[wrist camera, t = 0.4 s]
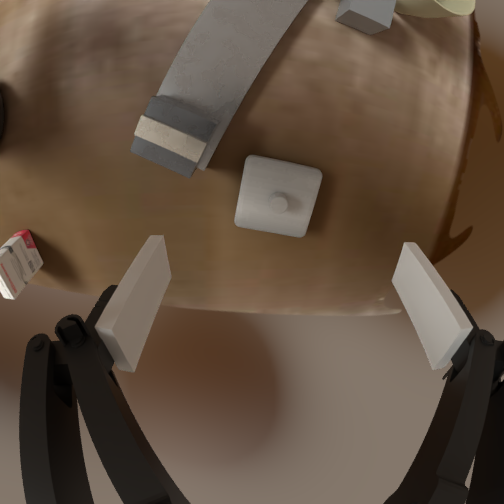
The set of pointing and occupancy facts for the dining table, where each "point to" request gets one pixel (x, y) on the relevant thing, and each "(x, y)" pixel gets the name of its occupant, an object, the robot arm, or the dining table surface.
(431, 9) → the mug
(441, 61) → the dining table surface
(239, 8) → the rail
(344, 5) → the block
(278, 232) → the grey cover with knob
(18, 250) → the ink box
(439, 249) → the dining table surface
